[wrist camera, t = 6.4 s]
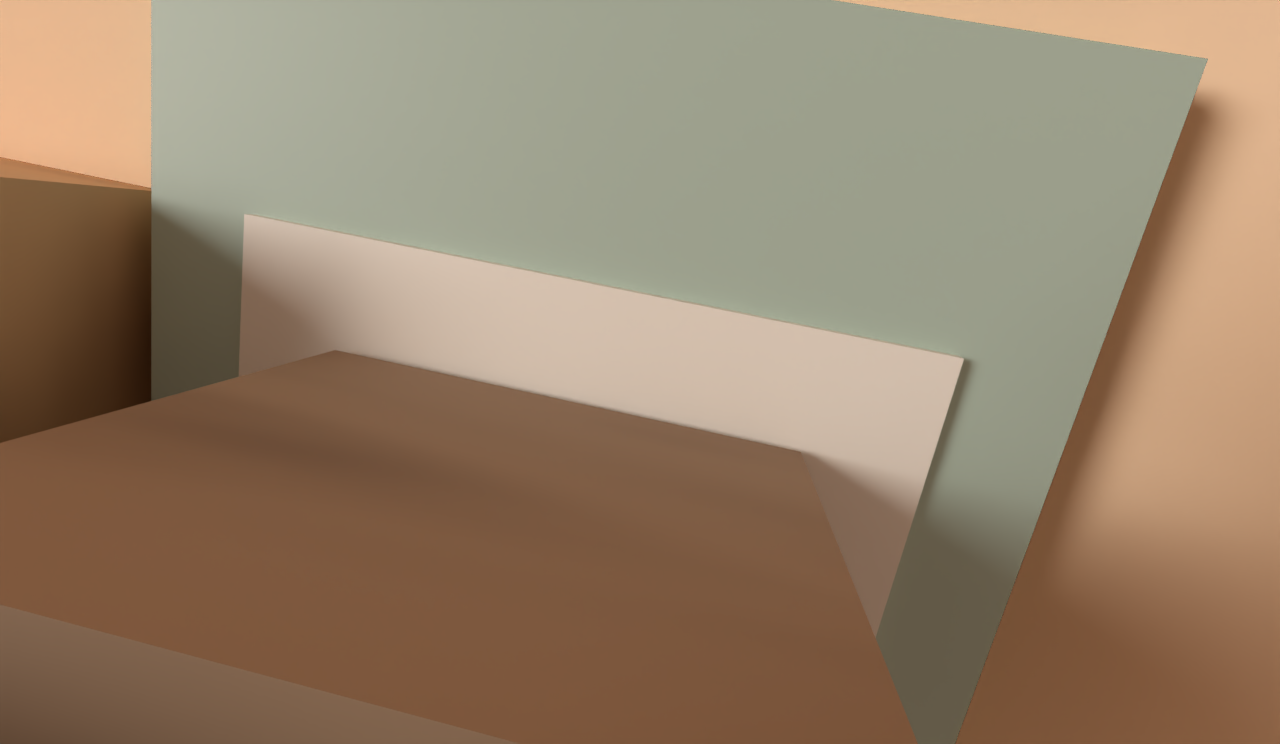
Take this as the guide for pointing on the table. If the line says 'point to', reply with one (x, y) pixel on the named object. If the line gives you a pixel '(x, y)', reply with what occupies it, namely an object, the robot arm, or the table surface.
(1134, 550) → the table surface
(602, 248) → the base board
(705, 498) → the walnut block
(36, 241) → the oak cube
